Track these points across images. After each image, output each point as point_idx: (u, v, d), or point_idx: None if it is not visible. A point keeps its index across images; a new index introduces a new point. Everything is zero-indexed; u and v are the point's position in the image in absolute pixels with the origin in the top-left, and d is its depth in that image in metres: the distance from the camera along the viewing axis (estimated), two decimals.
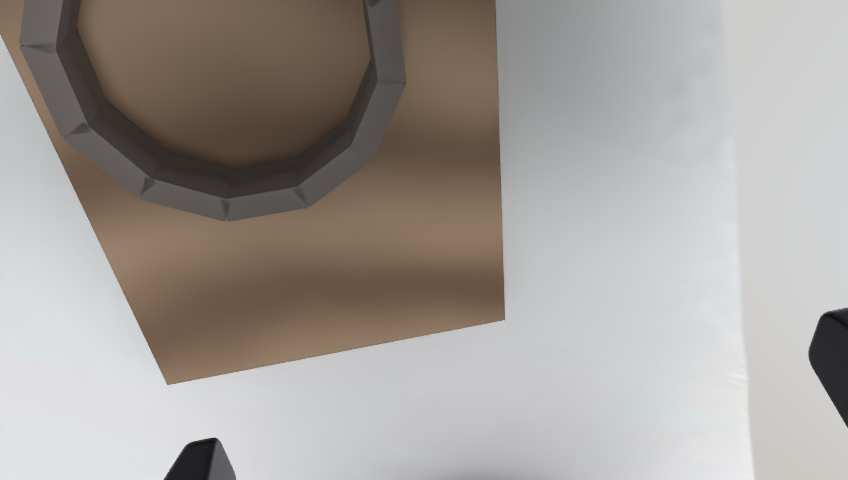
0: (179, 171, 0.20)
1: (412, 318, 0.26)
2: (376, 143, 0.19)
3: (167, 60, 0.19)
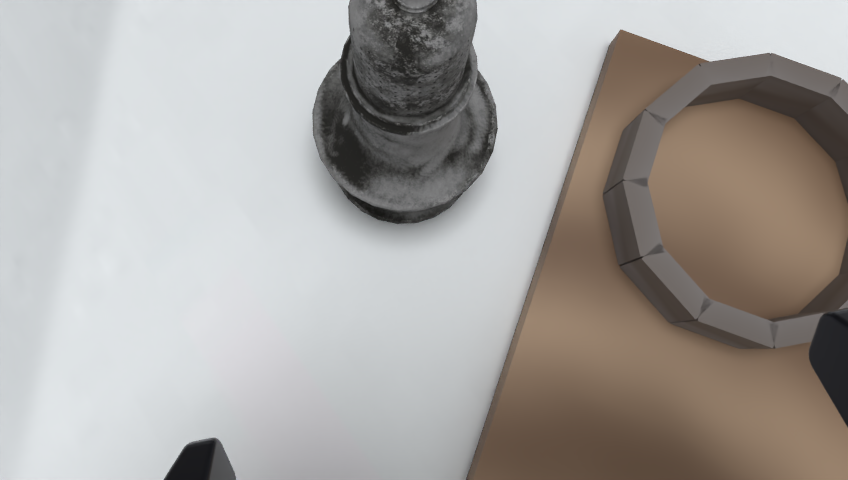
0: None
1: None
2: None
3: (687, 195, 0.23)
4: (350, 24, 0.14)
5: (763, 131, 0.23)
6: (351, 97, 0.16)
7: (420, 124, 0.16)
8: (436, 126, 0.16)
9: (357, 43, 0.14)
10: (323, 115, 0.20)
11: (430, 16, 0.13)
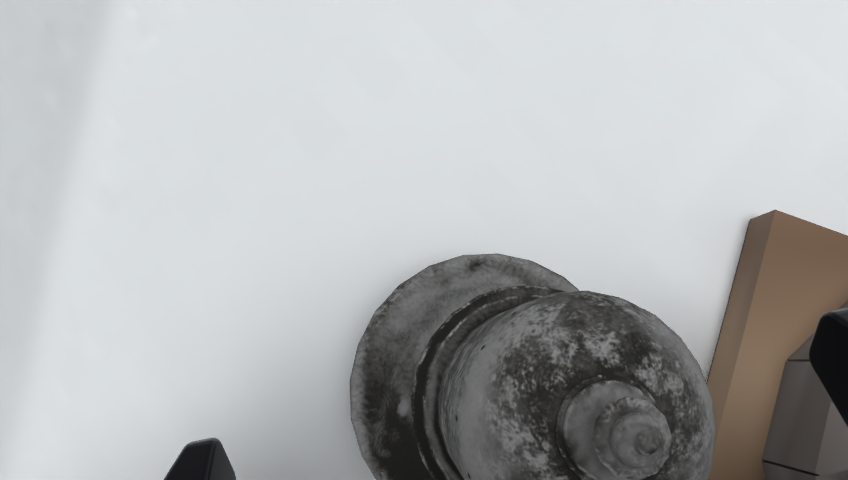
0: None
1: None
2: None
3: None
4: (460, 457, 0.07)
5: None
6: (432, 465, 0.09)
7: None
8: None
9: None
10: (366, 388, 0.13)
11: None
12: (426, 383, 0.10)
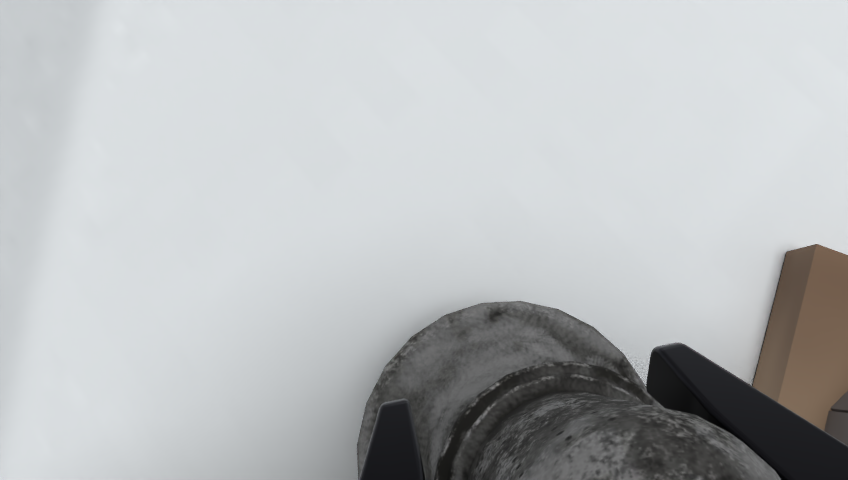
0: None
1: None
2: None
3: None
4: None
5: None
6: None
7: None
8: None
9: None
10: None
11: None
12: None
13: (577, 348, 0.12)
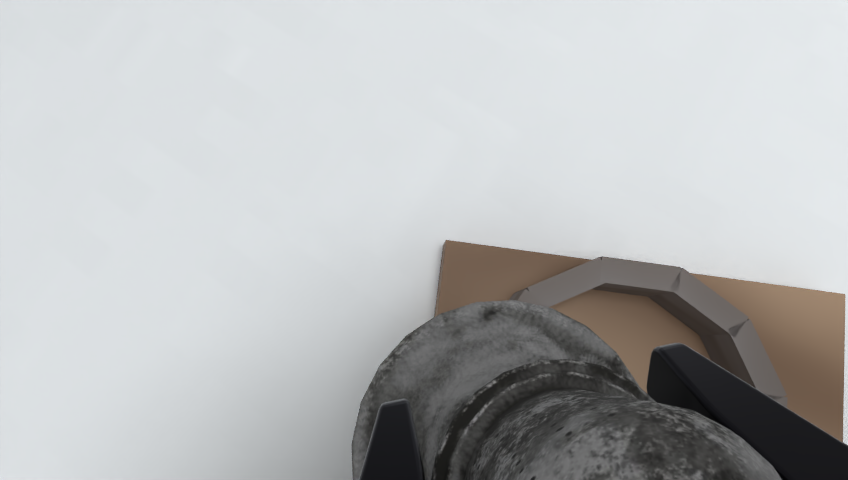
0: None
1: None
2: None
3: None
4: None
5: (618, 319, 0.22)
6: None
7: None
8: None
9: None
10: None
11: None
12: (447, 477, 0.08)
13: (571, 347, 0.12)
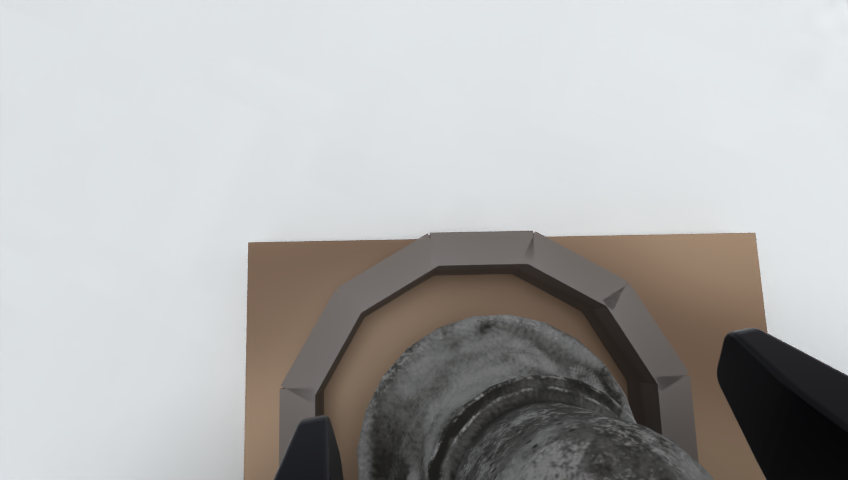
0: None
1: None
2: None
3: None
4: None
5: (478, 308, 0.17)
6: None
7: None
8: None
9: None
10: (374, 457, 0.13)
11: None
12: None
13: (561, 358, 0.13)
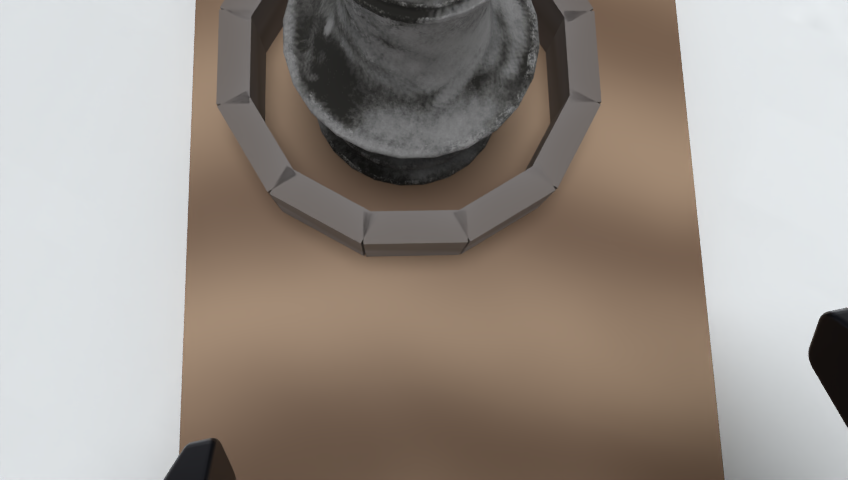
0: None
1: None
2: (562, 169, 0.16)
3: None
4: None
5: None
6: None
7: (439, 5, 0.10)
8: (462, 10, 0.11)
9: None
10: (297, 24, 0.14)
11: None
12: None
13: None
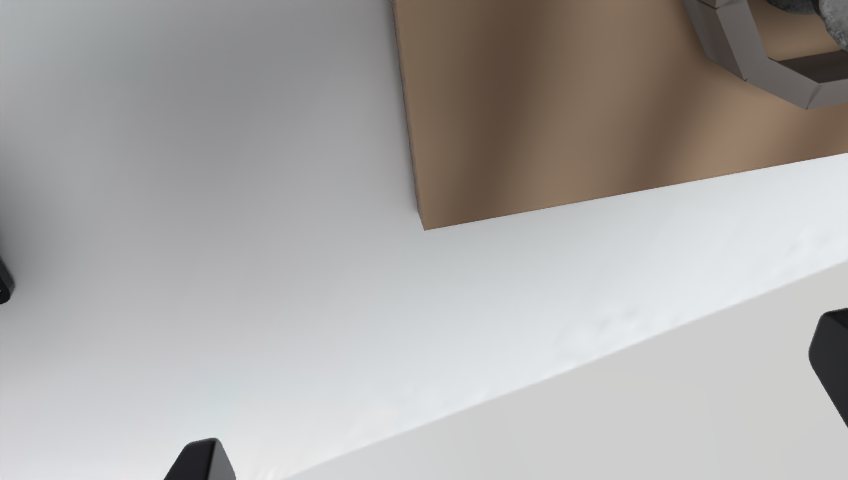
0: None
1: (445, 121, 0.20)
2: (760, 83, 0.19)
3: None
4: None
5: None
6: None
7: None
8: None
9: None
10: None
11: None
12: None
13: None
